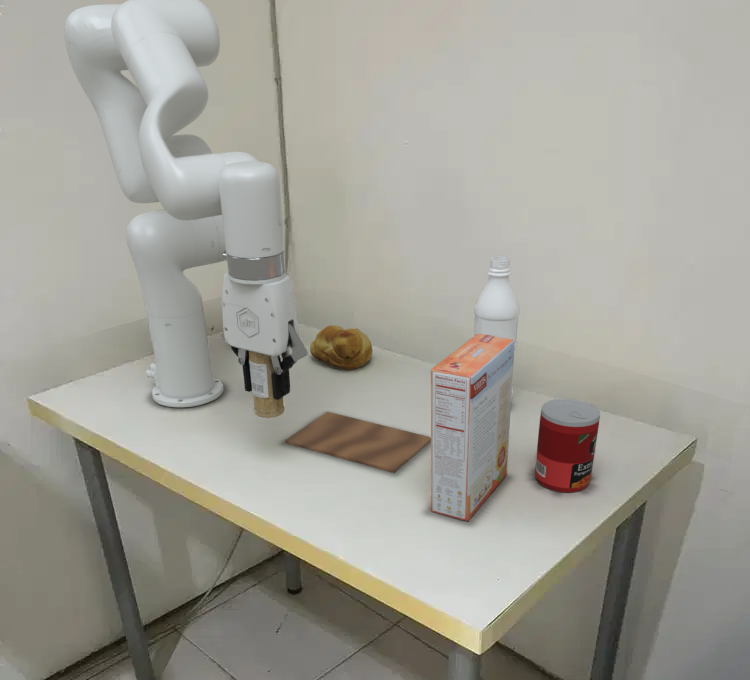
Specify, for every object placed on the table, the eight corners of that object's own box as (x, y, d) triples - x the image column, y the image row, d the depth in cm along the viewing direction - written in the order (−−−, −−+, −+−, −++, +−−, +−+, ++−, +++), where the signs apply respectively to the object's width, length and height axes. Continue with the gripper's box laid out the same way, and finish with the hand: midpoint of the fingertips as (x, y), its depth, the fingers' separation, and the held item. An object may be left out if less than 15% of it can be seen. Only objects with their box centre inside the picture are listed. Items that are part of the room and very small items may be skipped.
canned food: (579, 499, 106) (590, 427, 100) (525, 484, 110) (532, 414, 104) (597, 475, 112) (608, 405, 106) (545, 461, 115) (552, 393, 109)
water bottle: (464, 411, 131) (471, 262, 117) (476, 395, 136) (483, 251, 123) (506, 417, 128) (517, 266, 115) (516, 400, 134) (528, 254, 121)
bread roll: (300, 362, 151) (297, 322, 147) (333, 347, 158) (331, 309, 154) (349, 377, 144) (348, 336, 140) (382, 361, 151) (381, 321, 147)
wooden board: (285, 442, 122) (284, 440, 122) (327, 414, 131) (327, 411, 131) (394, 473, 113) (394, 470, 113) (432, 440, 122) (432, 437, 122)
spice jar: (290, 413, 112) (284, 325, 105) (262, 422, 110) (253, 332, 103) (275, 402, 116) (268, 315, 108) (248, 410, 113) (239, 322, 106)
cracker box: (469, 467, 114) (476, 331, 103) (508, 476, 112) (518, 338, 101) (426, 512, 104) (428, 366, 93) (467, 523, 102) (474, 375, 91)
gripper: (188, 262, 102) (205, 389, 112) (291, 282, 95) (300, 416, 105) (225, 249, 108) (238, 371, 118) (325, 267, 100) (330, 395, 110)
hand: (267, 390), depth 111 cm, fingers closed on spice jar, 4 cm apart
